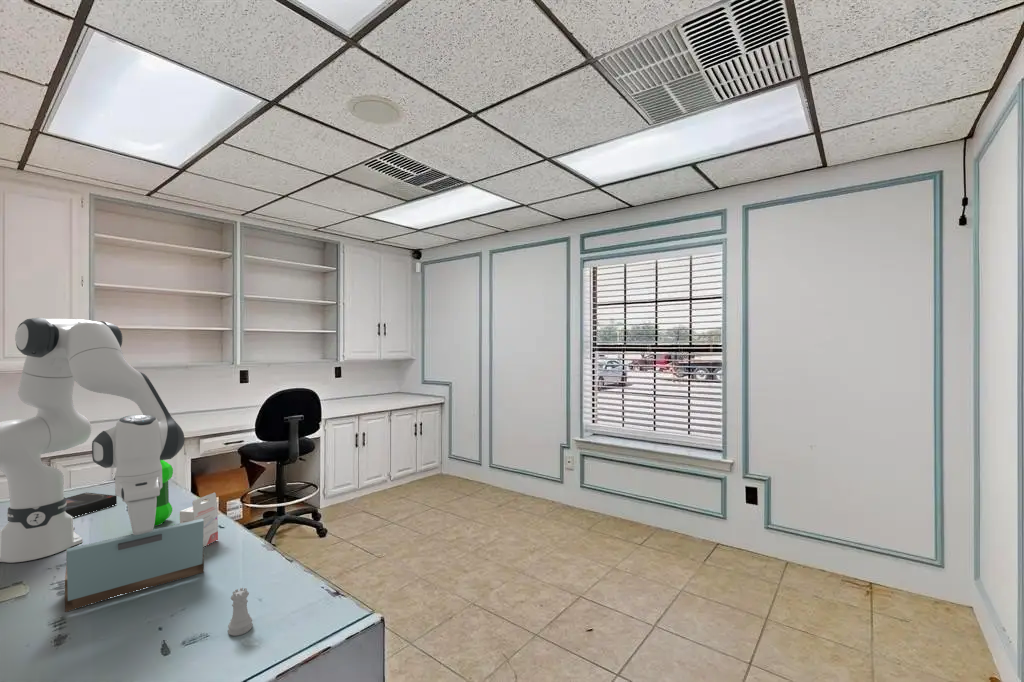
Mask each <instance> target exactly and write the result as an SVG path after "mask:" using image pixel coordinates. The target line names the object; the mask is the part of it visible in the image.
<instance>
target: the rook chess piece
mask: <svg viewBox="0 0 1024 682" xmlns="http://www.w3.org/2000/svg"><path fill="white" fill-rule="evenodd" d="M249 594H250V592H249V591H248V589H247V587H244V588H243V587H240V588H238V589H235V590H234V591H233V592H232V595H231V597H230V599H231V601H233V602H232V604H231V606H232V608H233V609H232V615H231V618H230V622H229V623H228V626H227V628H228V630H227V633H228V634H229V635H230V636H232V637H238V636H242V635H244V634H246V633H248V632H249V631H250V630H251V629H252V628H253V626H254V624H253V618H252V617H251V615H250V613H249V611H248V602H249V601H248V599H247V598H248V597H249Z"/></svg>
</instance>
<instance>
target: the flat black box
mask: <svg viewBox="0 0 1024 682" xmlns="http://www.w3.org/2000/svg"><path fill="white" fill-rule="evenodd" d="M117 497H118V496H116V495H115V494H104V493H95V492H83V493H79V494H76V495H75V494H74V495H72V496H68V497H65V498H66V502H67V505H66V510H65V511H66V513H67V514H69V515H71V516H72V517H75V516H78V515H82V514H85V513H89V512H93V511H96V510H99V511H101V510H100V509H103V508H106V507H109V506H112V505H115V504H118V501H117V499H118V498H117ZM112 507H113V506H112ZM109 508H110V507H109ZM106 509H107V508H106ZM103 510H104V509H103ZM96 512H97V511H96ZM93 513H94V512H93ZM89 514H90V513H89Z"/></svg>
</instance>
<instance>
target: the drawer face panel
mask: <svg viewBox="0 0 1024 682" xmlns="http://www.w3.org/2000/svg"><path fill="white" fill-rule="evenodd" d="M203 526H204V520H203V519H198V520H194V521H189V522H185V523H180V522H179V523H175V524H172V525H167V526H162V527H158V528H154V529H153V531H151V532H148V533H144V534H139V535H134V534H133V533H132V534H126V535H123V536H118V537H113V538H109V539H105V540H100V541H95V542H90V543H87V544H82V545H78V546H74V547H73V546H72V547H69V548H67V549H66V550H67V563H66V564H67V587H68V601H70V600H73V599H77V598H81V597H84V596H88V595H91V594H95V593H99V592H102V591H106V590H110V589H113V588H117V587H120V586H124V585H128V584H131V583H135V582H138V581H142V580H146V579H149V578H153V577H157V576H160V575H164V574H167V573H171V572H175V571H178V570H182V569H185V568H189V567H193V566H196V565H200V564H202V562H203V552H204V548H203Z"/></svg>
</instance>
